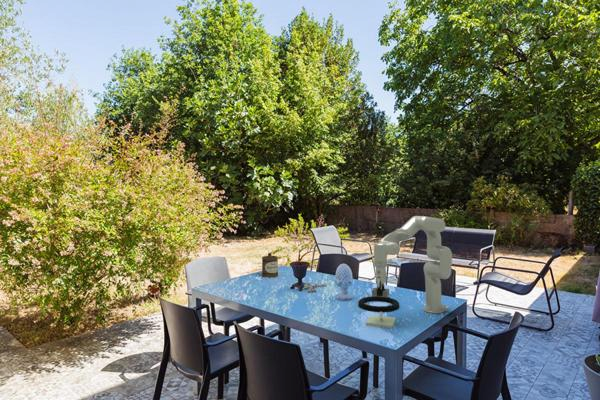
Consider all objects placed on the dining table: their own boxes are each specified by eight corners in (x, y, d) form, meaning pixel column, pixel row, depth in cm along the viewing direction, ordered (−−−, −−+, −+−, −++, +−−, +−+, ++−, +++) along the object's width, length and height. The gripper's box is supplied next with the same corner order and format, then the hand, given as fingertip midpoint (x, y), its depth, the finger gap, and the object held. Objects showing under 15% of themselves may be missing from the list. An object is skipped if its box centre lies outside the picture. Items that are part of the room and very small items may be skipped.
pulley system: (297, 292, 296) (314, 293, 289) (296, 286, 297) (313, 287, 289) (312, 285, 320) (328, 286, 313) (312, 280, 321) (328, 281, 313)
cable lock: (351, 303, 249) (367, 292, 275) (351, 309, 249) (367, 297, 275) (392, 309, 235) (405, 297, 261) (392, 315, 235) (405, 302, 261)
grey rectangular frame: (389, 294, 222) (389, 288, 222) (387, 297, 216) (387, 291, 216) (374, 293, 225) (373, 287, 225) (372, 295, 220) (371, 289, 220)
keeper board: (395, 320, 225) (395, 309, 225) (392, 328, 212) (392, 316, 212) (371, 317, 230) (370, 307, 230) (366, 325, 217) (365, 314, 217)
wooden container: (267, 278, 343) (266, 254, 342) (259, 275, 355) (259, 252, 355) (280, 276, 351) (280, 252, 350) (273, 273, 363) (272, 251, 363)
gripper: (384, 266, 211) (384, 298, 211) (389, 261, 227) (389, 291, 227) (371, 266, 214) (371, 297, 214) (376, 261, 230) (377, 290, 230)
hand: (380, 294), depth 221 cm, fingers closed on grey rectangular frame, 6 cm apart
